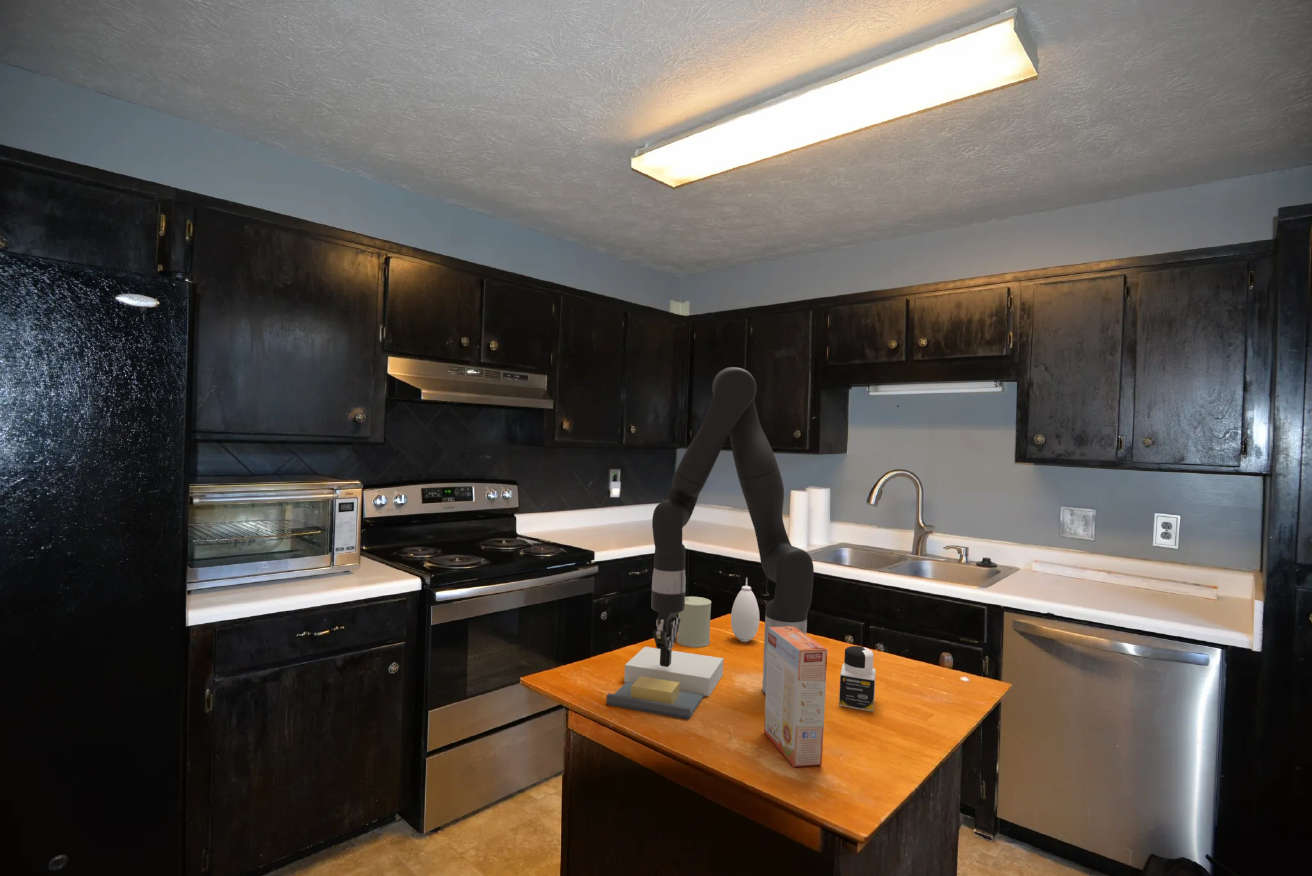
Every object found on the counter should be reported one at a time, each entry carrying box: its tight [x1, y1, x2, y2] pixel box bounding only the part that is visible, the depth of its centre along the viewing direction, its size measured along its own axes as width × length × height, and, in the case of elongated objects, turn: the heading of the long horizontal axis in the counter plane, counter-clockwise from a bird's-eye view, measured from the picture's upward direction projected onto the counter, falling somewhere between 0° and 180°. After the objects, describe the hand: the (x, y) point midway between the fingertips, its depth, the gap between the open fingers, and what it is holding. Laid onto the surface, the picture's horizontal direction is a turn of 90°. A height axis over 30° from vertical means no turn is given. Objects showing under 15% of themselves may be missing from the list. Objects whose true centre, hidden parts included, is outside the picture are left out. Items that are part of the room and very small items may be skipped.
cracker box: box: [763, 626, 828, 768], centre depth 121 cm, size 14×6×21 cm, turn 12°
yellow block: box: [631, 676, 680, 705], centre depth 140 cm, size 9×6×3 cm, turn 72°
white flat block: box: [623, 646, 724, 697], centre depth 153 cm, size 20×14×4 cm
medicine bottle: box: [838, 645, 877, 712], centre depth 143 cm, size 7×7×12 cm
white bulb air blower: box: [730, 577, 760, 643], centre depth 183 cm, size 8×8×18 cm
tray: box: [606, 682, 705, 721], centre depth 140 cm, size 18×12×2 cm, turn 72°
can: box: [676, 596, 712, 648], centre depth 181 cm, size 9×9×12 cm
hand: (665, 665), depth 146 cm, fingers closed
